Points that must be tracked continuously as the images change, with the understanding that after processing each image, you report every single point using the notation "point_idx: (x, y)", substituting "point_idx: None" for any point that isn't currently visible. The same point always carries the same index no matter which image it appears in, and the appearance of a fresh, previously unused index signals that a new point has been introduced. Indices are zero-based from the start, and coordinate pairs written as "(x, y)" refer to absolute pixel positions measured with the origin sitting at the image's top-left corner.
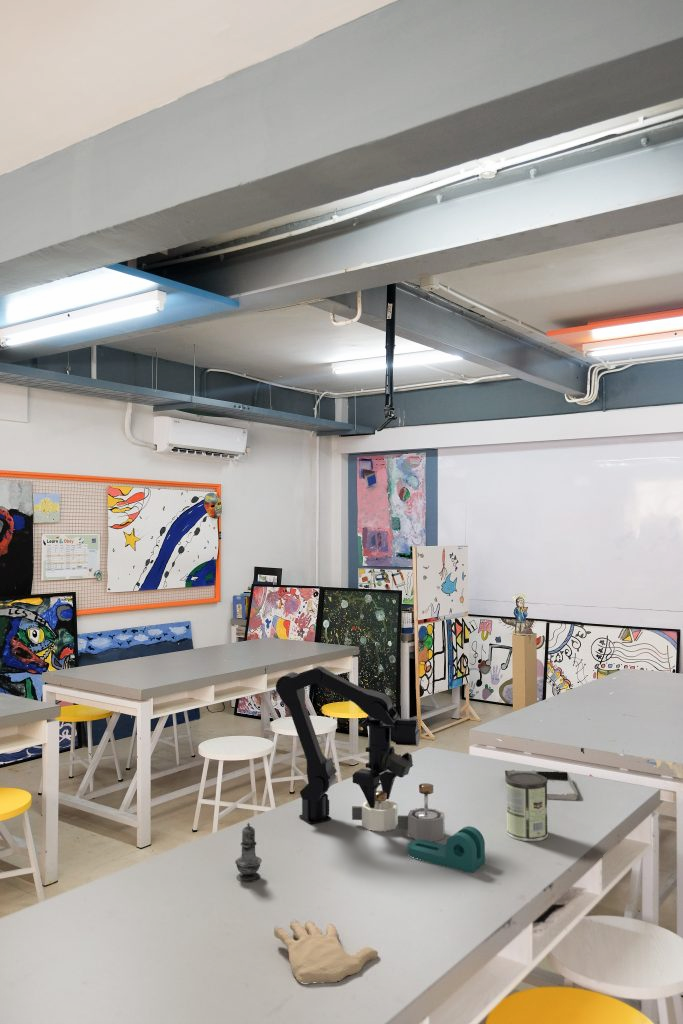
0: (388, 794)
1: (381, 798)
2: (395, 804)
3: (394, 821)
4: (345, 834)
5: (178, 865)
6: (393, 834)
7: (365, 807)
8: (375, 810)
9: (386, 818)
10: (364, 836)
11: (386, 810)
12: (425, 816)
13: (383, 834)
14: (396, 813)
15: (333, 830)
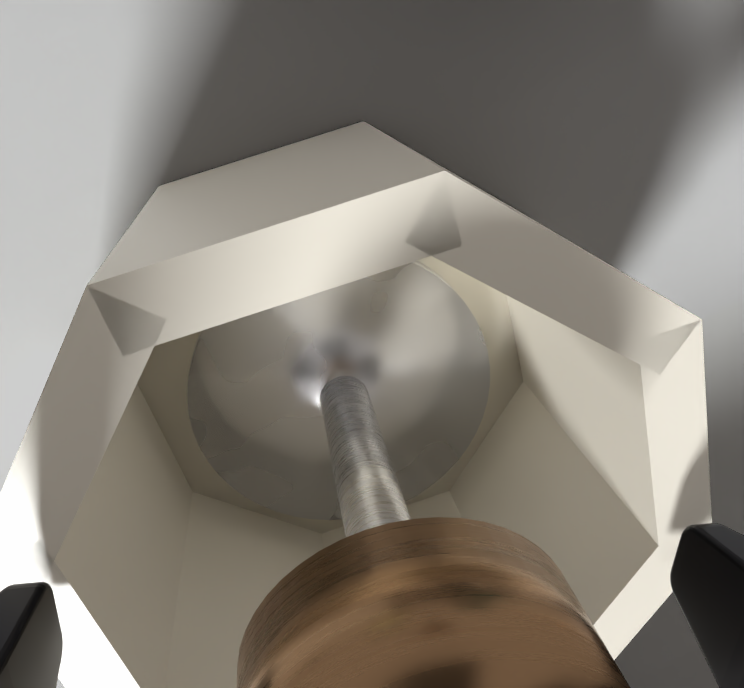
0: (8, 677)
1: (572, 608)
2: (161, 308)
3: (399, 142)
4: (733, 507)
5: None
6: (571, 44)
7: (616, 648)
8: (704, 461)
9: (567, 240)
10: (739, 335)
11: (641, 289)
12: None
13: (617, 173)
14: (251, 194)
15: (669, 628)
